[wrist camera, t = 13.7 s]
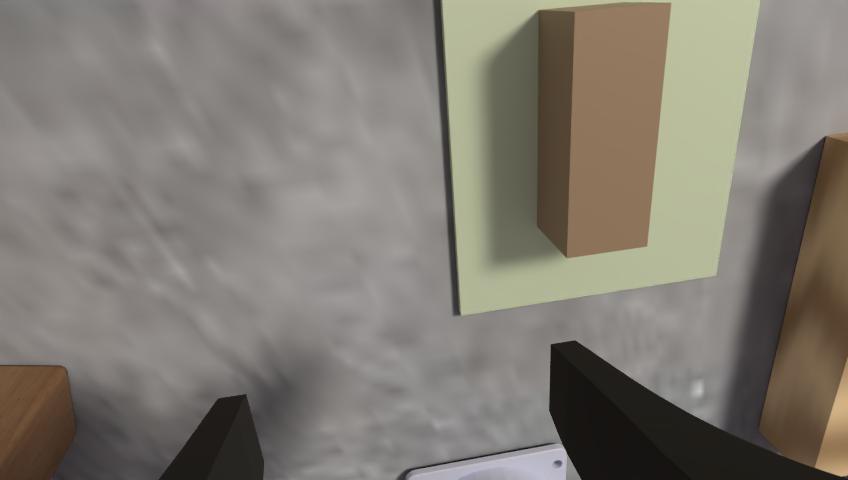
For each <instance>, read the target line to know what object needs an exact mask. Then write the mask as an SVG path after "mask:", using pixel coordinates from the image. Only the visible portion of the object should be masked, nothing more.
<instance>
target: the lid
mask: <svg viewBox="0 0 848 480" xmlns="http://www.w3.org/2000/svg"><path fill="white" fill-rule="evenodd" d="M440 4H441V21H442V37H443V54H444V70H445V87H446V103H447V120H448V136H449V153H450V169H451V186H452V202H453V219H454V235H455V252H456V268H457V285H458V301H459V312H460V314H461V316H462V315H468V314H475V313H481V312H487V311H494V310H500V309H507V308H513V307H519V306H526V305H532V304H538V303H545V302H551V301H558V300H564V299H570V298H577V297H583V296H589V295H596V294H602V293H608V292H615V291H621V290H628V289H634V288H640V287H647V286H653V285H659V284H666V283H672V282H679V281H685V280H691V279H698V278H704V277H710V276H716V273H717V267H718V260H719V254H720V248H721V242H722V236H723V229H724V223H725V217H726V211H727V204H728V198H729V192H730V186H731V180H732V173H733V167H734V161H735V155H736V148H737V142H738V136H739V130H740V124H741V117H742V111H743V105H744V99H745V92H746V86H747V80H748V74H749V68H750V61H751V55H752V49H753V43H754V36H755V30H756V24H757V18H758V12H759V5H760V0H440Z"/></svg>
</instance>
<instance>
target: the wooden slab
mask: <svg viewBox="0 0 848 480" xmlns="http://www.w3.org/2000/svg"><path fill="white" fill-rule="evenodd" d="M758 431H759V432H760V433H761V434H762V435H763V436H764V437H765V438H766V439H767V440H768V441H769V442H770V443H771V444H772V445H773V446H774V447H775V448H776V449H777V450H778V451H779V452H780V453H781V454H782V455H783V456H784V457H786V458H789V459H791V460H794V461H797V462H800V463H802V464H805V465H808V466H811V467H814V468H817V469H820V470H823V471H826V472H829V473H832V474H835V475H838V476H841V477H842V476H847V475H848V133H847V134H839V135H831V136H826V140H825V144H824V148H823V153H822V157H821V161H820V166H819V170H818V174H817V179H816V183H815V187H814V192H813V196H812V200H811V205H810V209H809V213H808V218H807V222H806V226H805V231H804V235H803V239H802V243H801V248H800V252H799V256H798V261H797V265H796V269H795V274H794V278H793V282H792V287H791V291H790V295H789V300H788V304H787V308H786V313H785V317H784V321H783V326H782V330H781V334H780V339H779V343H778V347H777V352H776V356H775V360H774V365H773V369H772V373H771V378H770V382H769V386H768V390H767V395H766V399H765V403H764V408H763V412H762V416H761V421H760V425H759V429H758Z"/></svg>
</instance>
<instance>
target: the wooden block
mask: <svg viewBox="0 0 848 480" xmlns="http://www.w3.org/2000/svg"><path fill="white" fill-rule="evenodd" d="M75 435H76V426H75V419H74V412H73V405H72V399H71V392H70V385H69V378H68V372H67V370H66V368H65V367H62V366H37V365H0V480H50V479H51V477H52V475H53V473H54V472H55V470H56V468H57V467H58V465H59V463H60V461H61V460H62V458H63V456H64V454H65V453H66V451H67V449H68V448H69V446H70V444H71V442H72V441H73V439H74V437H75Z"/></svg>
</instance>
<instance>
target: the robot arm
mask: <svg viewBox="0 0 848 480" xmlns="http://www.w3.org/2000/svg"><path fill="white" fill-rule="evenodd" d="M549 411H550V414H551V416H552V419H553V421H554V424H555V427H556V429H557V432H558V434H559V436H560V439H561V441H562V444H563V446H564V447H563V446H562V445H561V444H552V445H546V446H541V447H536V448H530V449H525V450H519V451H514V452H508V453H503V454H498V455H492V456H487V457H481V458H476V459H471V460H465V461H460V462H454V463H449V464H443V465H438V466H433V467H427V468H422V469H416V470H413V471H410V472H409V473H408V474H407V475H406V479H405V480H566V462H567V454H568V456H569V458H570V460H571V461H572V463H573V465H574V467H575V469H576V470H577V472H578V474H579V476H580V478H581V479H582V480H848V479H847V478H844V477H841V476H838V475H835V474H832V473H829V472H826V471H823V470H820V469H817V468H814V467H811V466H808V465H805V464H802V463H800V462H797V461H794V460H791V459H789V458H786V457H783V456H781V455H778V454H776V453H773V452H771V451H769V450H766V449H764V448H761V447H759V446H756V445H754V444H752V443H749V442H747V441H745V440H742V439H740V438H738V437H736V436H733V435H731V434H729V433H727V432H725V431H723V430H721V429H719V428H717V427H715V426H713V425H711V424H709V423H707V422H705V421H703V420H701V419H699V418H697V417H695V416H693V415H691V414H689V413H688V412H686V411H684V410H682V409H681V408H679V407H677V406H675V405H674V404H672V403H670V402H668V401H667V400H665V399H663V398H662V397H660V396H658V395H657V394H655V393H653V392H652V391H650V390H648V389H647V388H645V387H644V386H642V385H641V384H639V383H638V382H636V381H634V380H633V379H631V378H630V377H628V376H627V375H625V374H624V373H622V372H621V371H619V370H618V369H616V368H615V367H613V366H612V365H611V364H609V363H608V362H606V361H605V360H603V359H602V358H600V357H599V356H597V355H596V354H595V353H593V352H592V351H590V350H589V349H587V348H586V347H584V346H583V345H581V344H580V343H578V342H577V341H569V342H563V343H556V344H551V361H550V404H549ZM566 452H567V453H566ZM555 461H556V462H555ZM263 472H264V459H263V456H262V452H261V448H260V445H259V441H258V437H257V433H256V430H255V426H254V422H253V418H252V415H251V411H250V407H249V403H248V400H247V396H246V394H243V395H237V396H231V397H225V398H219V399H218V400H217V401H216V402H215V404H214V405H213V406H212V408H211V409H210V410H209V412H208V413H207V415H206V416H205V418H204V419H203V420H202V422H201V423H200V425H199V426H198V427H197V429H196V430H195V432H194V433H193V435H192V436H191V437H190V439H189V440H188V441H187V443H186V444H185V446H184V447H183V448H182V450H181V451H180V452H179V454H178V455H177V456H176V458H175V459H174V460H173V462H172V463H171V464H170V466H169V467H168V468H167V470H166V471H165V472H164V474H163V475H162V476H161V477H160V479H159V480H263Z"/></svg>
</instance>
